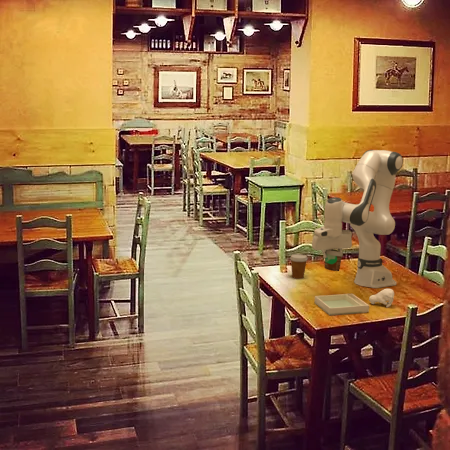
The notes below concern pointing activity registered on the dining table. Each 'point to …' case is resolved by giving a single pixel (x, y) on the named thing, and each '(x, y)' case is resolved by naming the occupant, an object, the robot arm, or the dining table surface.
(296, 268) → the disposable coffee cup
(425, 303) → the dining table surface
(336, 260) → the food container
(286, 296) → the dining table surface
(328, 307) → the walled box
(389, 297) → the white animal figurine
